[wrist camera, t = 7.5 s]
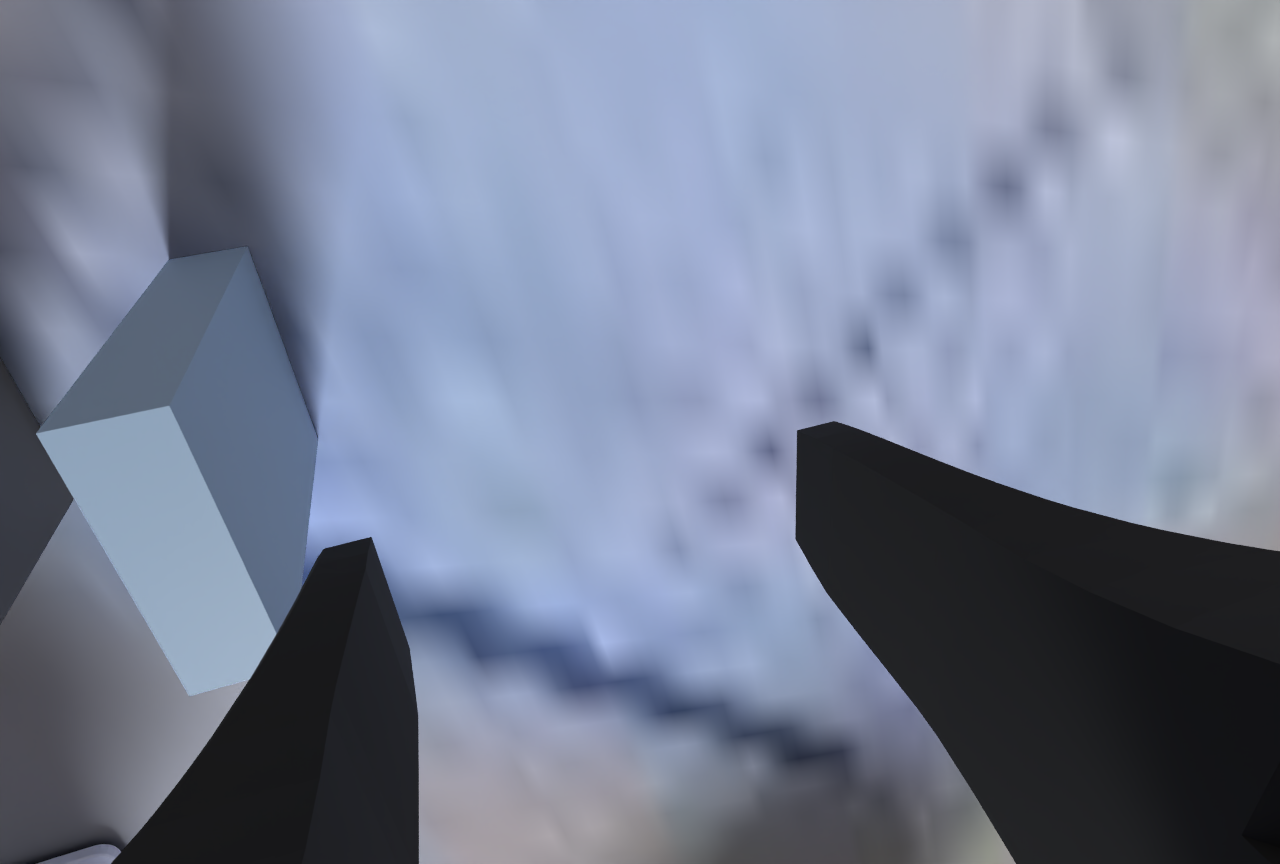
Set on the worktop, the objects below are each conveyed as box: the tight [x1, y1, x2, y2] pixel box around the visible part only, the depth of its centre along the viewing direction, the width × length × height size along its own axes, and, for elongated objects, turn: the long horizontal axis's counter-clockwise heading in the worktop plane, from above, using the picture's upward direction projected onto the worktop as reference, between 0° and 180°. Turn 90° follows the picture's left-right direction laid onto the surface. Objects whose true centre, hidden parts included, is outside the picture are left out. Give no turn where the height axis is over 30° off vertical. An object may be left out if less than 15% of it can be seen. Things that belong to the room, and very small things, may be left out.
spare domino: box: [36, 246, 318, 696], centre depth 15 cm, size 5×2×8 cm, turn 6°
